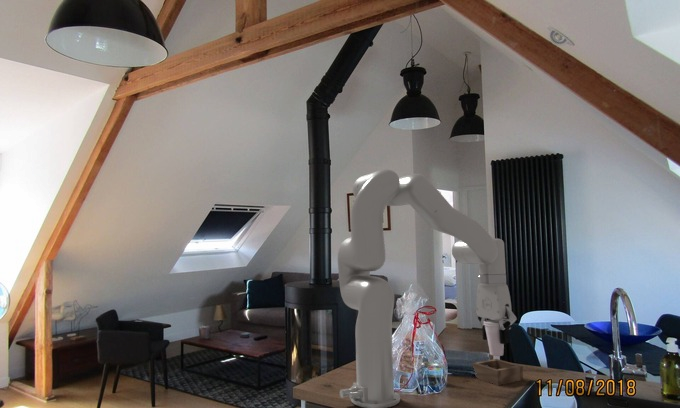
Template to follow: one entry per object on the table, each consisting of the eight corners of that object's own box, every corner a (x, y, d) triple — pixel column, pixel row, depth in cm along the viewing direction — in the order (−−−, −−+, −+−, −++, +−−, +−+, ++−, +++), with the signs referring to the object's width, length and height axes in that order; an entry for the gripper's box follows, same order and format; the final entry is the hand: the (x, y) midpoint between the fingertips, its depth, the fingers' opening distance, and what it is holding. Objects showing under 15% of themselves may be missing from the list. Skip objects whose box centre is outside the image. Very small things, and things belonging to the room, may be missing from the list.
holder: (498, 385, 131) (497, 370, 132) (472, 376, 140) (472, 363, 141) (523, 380, 136) (522, 366, 136) (497, 372, 145) (496, 358, 145)
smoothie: (511, 356, 136) (507, 307, 137) (488, 357, 136) (485, 308, 137) (503, 351, 142) (500, 304, 143) (482, 352, 142) (479, 305, 143)
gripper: (463, 279, 146) (465, 337, 145) (506, 282, 131) (509, 348, 130) (481, 277, 150) (484, 335, 148) (525, 280, 135) (528, 344, 133)
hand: (495, 340), depth 139 cm, fingers closed on smoothie, 6 cm apart
